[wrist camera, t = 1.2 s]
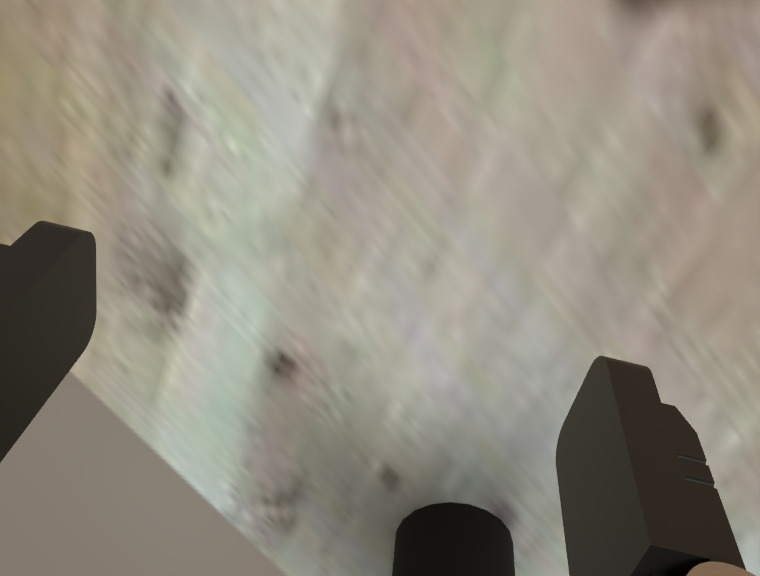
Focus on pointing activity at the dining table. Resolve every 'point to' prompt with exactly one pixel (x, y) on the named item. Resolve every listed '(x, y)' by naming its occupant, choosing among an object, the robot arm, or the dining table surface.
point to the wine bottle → (453, 543)
